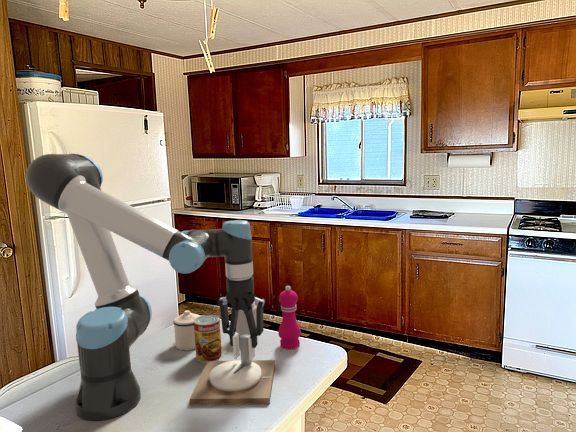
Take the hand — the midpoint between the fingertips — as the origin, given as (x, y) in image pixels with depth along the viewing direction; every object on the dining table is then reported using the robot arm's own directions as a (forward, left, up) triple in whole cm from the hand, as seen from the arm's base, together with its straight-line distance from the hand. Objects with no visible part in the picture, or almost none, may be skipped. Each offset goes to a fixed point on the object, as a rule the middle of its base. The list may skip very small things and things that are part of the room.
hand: (244, 357), depth 120 cm
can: (-3, +26, -5) cm, 27 cm away
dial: (-2, -5, -3) cm, 6 cm away
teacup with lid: (-22, +21, -5) cm, 31 cm away
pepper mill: (+12, +18, -5) cm, 22 cm away
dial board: (-2, -5, -5) cm, 7 cm away
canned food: (-13, +11, -5) cm, 18 cm away
